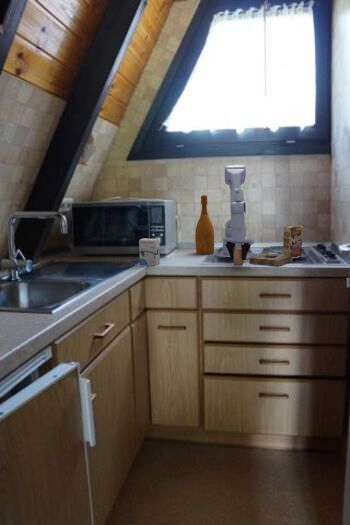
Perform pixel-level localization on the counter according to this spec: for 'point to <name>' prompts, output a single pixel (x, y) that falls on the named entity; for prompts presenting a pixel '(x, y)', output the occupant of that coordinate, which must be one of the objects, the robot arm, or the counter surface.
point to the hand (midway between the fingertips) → (238, 259)
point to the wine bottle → (204, 231)
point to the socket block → (270, 259)
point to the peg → (238, 257)
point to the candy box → (292, 241)
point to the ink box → (149, 251)
